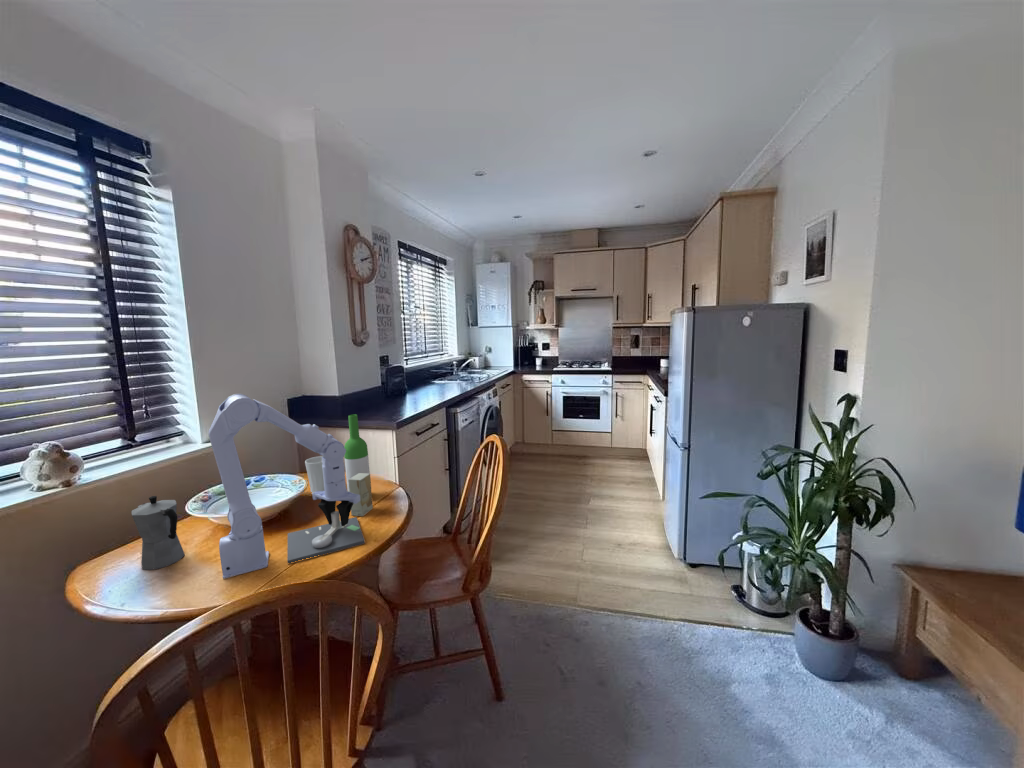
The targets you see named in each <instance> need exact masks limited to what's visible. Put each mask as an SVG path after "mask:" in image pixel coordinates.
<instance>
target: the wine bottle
mask: <svg viewBox="0 0 1024 768" xmlns="http://www.w3.org/2000/svg"><path fill="white" fill-rule="evenodd" d="M358 419H359V418H358V414H356V413H355V414H354V413H353V414H349V415H348V419H347V420H348V427H349V429H348V430H349V431H348V432H349V439H347V441H346V442H345V443H344V445H343V446H344V448H345V449H346V453H345V455H344V457H343V458H344V470H345V480H346V489H347V491H348V492H349V479H350V478H352V477H353V476H355V475H357V474H358V473H367V474H370V475H371V472H370V463H369V462H370V461H369V452H368V451H369V450H368V444H367V442H366V441H365V439H363V438H362V437H360V430H359V429H360V428H359V420H358Z"/></svg>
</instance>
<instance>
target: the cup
mask: <svg viewBox="0 0 1024 768" xmlns="http://www.w3.org/2000/svg"><path fill="white" fill-rule="evenodd" d="M322 457H323V456H322V455H319V456H314V457H310V458H307V459H306V460H305V461H304V465H305V469H306V473H307V480H308V483H309V484H308V485H309V488H310V493H311V492H312V493H314V492H316V491H325V490H324V479H323V469H322ZM312 493H311V494H312Z"/></svg>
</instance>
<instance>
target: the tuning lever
mask: <svg viewBox="0 0 1024 768" xmlns="http://www.w3.org/2000/svg"><path fill="white" fill-rule="evenodd" d="M331 520H332V528H330V529H329V530H328V531H327V532H326V533H325V534H324V535H320V536H317V537H315V538H314V539H313V540H312V546H313V547H314V548H323V547H326V546H328V545H330V544H331V543H332V535H333V534H334V533H335V532H336V531H337V530H338V529H339V528H340V527H341V524H340V523H341V520H340V514H339V511H338V510H335V511H334V512H332V513H331Z"/></svg>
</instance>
